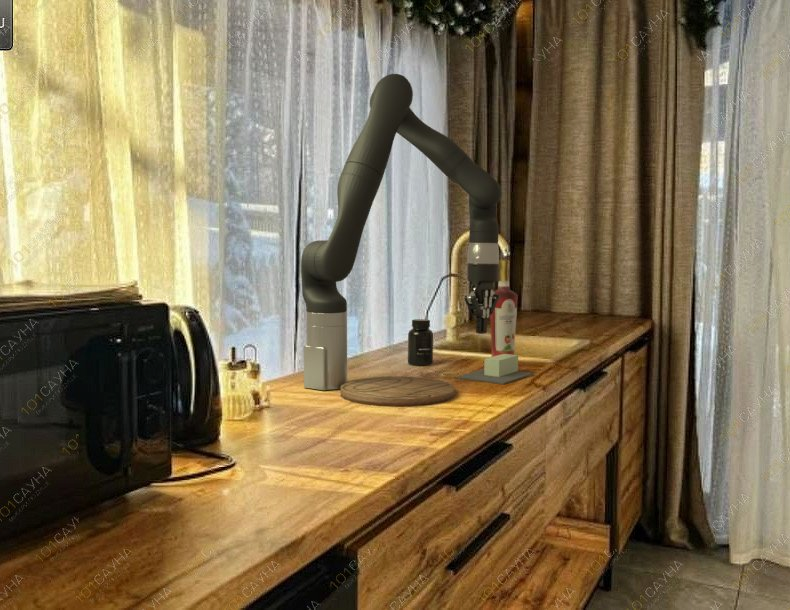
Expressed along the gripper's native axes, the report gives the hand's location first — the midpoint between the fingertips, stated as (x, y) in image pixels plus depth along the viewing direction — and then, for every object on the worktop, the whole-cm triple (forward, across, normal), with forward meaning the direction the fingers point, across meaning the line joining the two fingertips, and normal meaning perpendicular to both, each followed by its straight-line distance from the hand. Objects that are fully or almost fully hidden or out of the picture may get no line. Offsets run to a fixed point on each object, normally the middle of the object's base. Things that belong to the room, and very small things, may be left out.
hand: (481, 333), depth 183 cm
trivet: (+12, +28, -4) cm, 31 cm away
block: (+8, -1, +2) cm, 9 cm away
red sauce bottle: (+11, -18, -4) cm, 21 cm away
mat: (+11, -3, +2) cm, 11 cm away
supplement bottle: (+11, -7, -23) cm, 26 cm away
